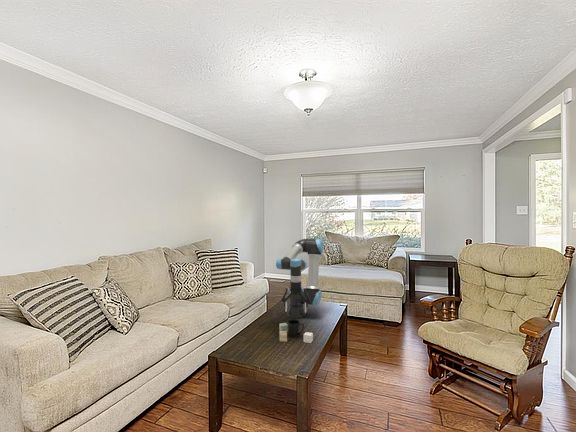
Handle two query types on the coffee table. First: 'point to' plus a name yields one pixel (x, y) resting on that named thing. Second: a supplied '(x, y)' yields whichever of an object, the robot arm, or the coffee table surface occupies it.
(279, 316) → the coffee table surface
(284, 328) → the sage cube
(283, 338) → the maple cube
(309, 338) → the cream cube
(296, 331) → the mug
